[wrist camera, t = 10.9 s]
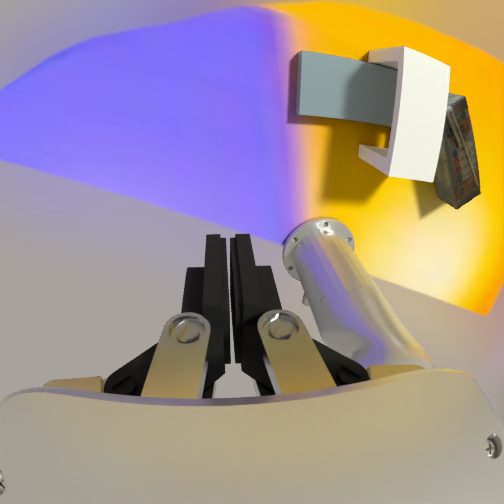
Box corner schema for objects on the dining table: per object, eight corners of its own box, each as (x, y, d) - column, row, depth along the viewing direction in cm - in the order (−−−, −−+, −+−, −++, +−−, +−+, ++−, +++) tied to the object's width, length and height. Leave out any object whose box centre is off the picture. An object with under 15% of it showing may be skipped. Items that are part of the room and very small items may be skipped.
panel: (392, 125, 37) (400, 128, 35) (294, 113, 35) (299, 114, 33) (396, 72, 32) (405, 73, 30) (297, 52, 30) (302, 50, 28)
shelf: (399, 162, 40) (432, 182, 32) (357, 156, 39) (388, 176, 31) (411, 64, 30) (450, 66, 23) (368, 50, 29) (404, 46, 22)
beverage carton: (443, 89, 33) (470, 95, 27) (462, 182, 43) (483, 196, 37) (412, 101, 34) (438, 107, 29) (435, 198, 44) (456, 214, 39)
